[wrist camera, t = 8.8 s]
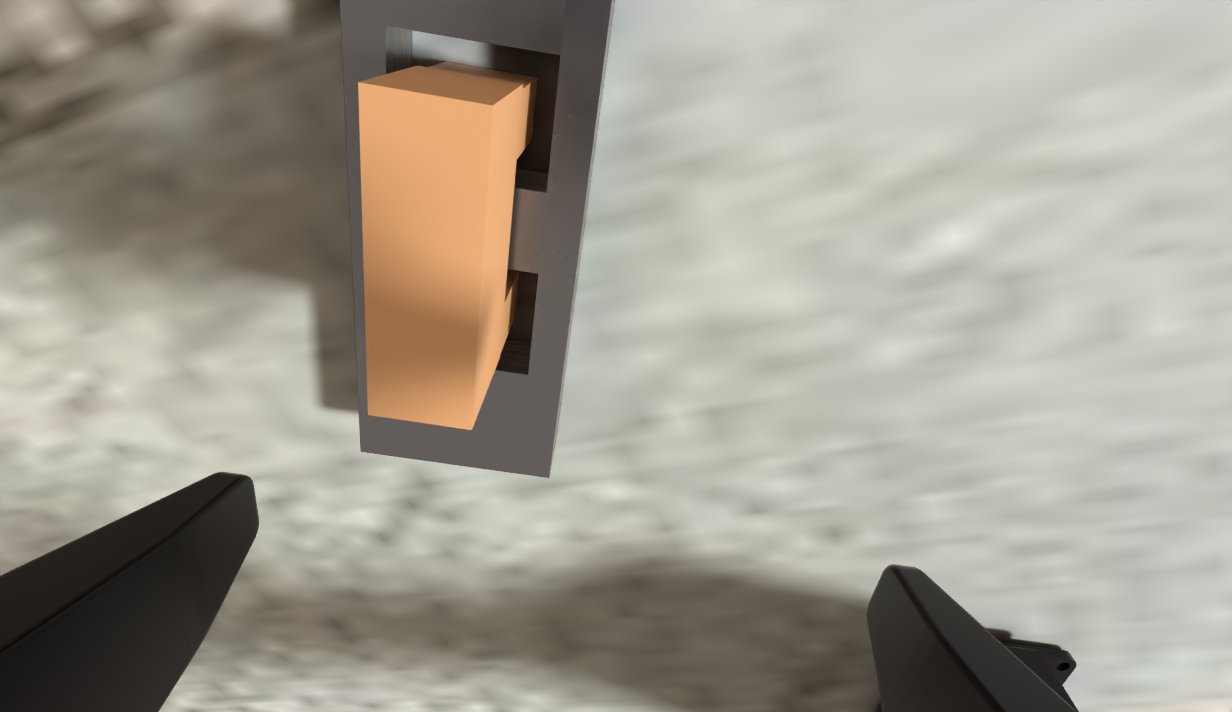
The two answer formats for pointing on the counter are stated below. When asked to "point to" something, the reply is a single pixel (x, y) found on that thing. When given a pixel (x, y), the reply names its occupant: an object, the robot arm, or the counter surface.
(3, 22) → the counter surface
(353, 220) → the rail
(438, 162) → the clip
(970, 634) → the robot arm
